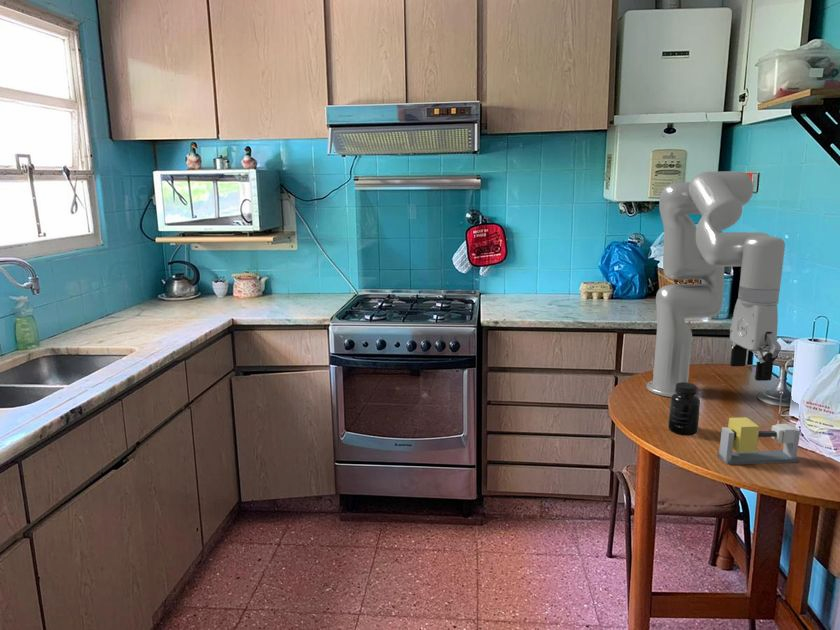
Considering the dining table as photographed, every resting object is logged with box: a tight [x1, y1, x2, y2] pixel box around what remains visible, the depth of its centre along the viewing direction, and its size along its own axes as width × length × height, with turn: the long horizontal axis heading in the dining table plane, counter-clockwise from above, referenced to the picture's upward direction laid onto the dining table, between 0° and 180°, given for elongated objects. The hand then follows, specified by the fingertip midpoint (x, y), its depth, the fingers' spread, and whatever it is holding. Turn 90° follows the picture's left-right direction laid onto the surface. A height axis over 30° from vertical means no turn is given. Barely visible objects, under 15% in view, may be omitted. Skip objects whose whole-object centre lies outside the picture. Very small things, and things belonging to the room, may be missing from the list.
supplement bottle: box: [668, 382, 701, 437], centre depth 152 cm, size 7×7×12 cm
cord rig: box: [716, 423, 801, 465], centre depth 137 cm, size 4×16×8 cm, turn 92°
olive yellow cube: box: [727, 416, 760, 452], centre depth 137 cm, size 5×4×6 cm
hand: (749, 372), depth 133 cm, fingers open, 9 cm apart
